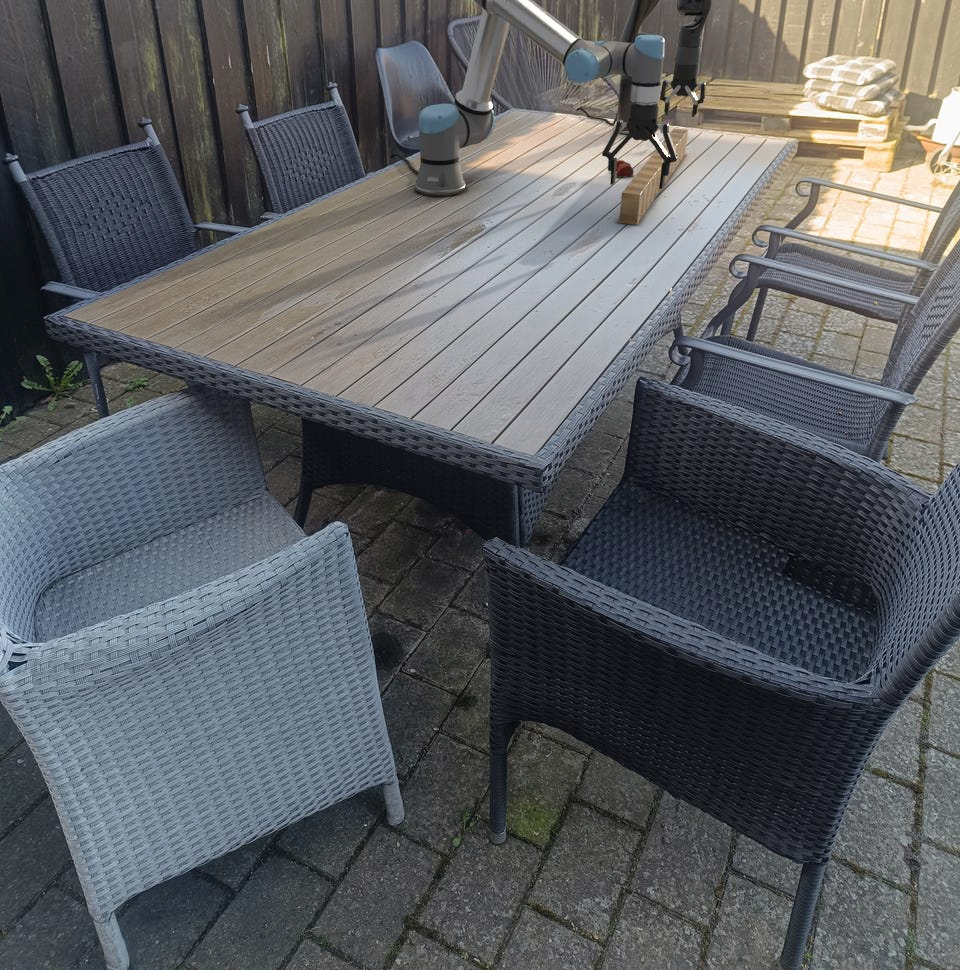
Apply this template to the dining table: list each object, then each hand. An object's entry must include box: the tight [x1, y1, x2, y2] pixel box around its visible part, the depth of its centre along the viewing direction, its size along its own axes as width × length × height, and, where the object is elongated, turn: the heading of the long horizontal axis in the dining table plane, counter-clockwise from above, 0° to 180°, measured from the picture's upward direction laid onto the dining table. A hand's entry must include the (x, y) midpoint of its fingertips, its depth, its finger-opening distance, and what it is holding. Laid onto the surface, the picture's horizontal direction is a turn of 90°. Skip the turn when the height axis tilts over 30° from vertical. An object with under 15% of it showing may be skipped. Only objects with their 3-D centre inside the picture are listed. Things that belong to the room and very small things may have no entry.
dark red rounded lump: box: [616, 159, 634, 178], centre depth 271 cm, size 6×4×8 cm
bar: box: [618, 128, 689, 226], centre depth 260 cm, size 78×5×8 cm, turn 159°
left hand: (636, 185), depth 232 cm, fingers open, 13 cm apart
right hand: (680, 115), depth 279 cm, fingers open, 8 cm apart
